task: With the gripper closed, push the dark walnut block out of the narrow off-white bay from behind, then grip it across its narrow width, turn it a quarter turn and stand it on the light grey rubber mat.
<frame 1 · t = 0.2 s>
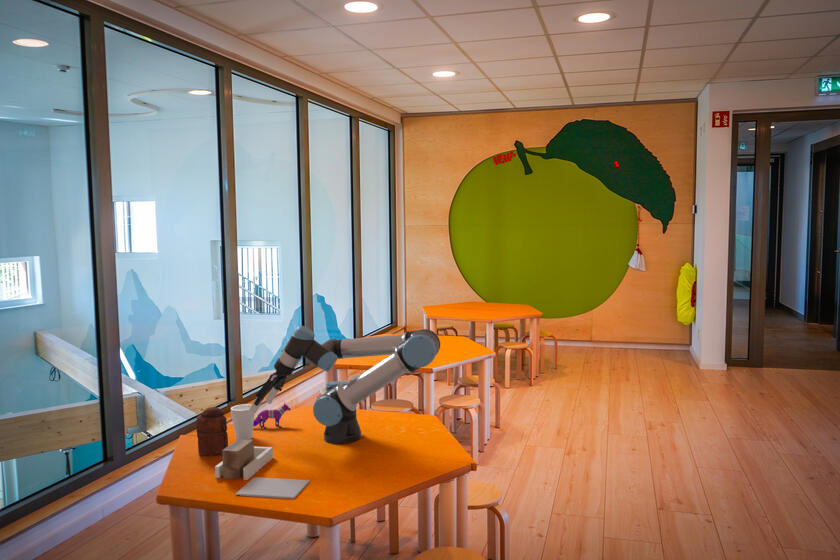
hand: (260, 406, 266), 16 cm above the table, tool tilted 35°, fingers open, 13 cm apart
bay: (244, 468, 244), on the table
foam cup: (244, 439, 278), on the table
mat: (273, 488, 225), on the table
wooden figurine: (213, 453, 261), on the table
walnut block: (239, 472, 240), resting in bay
toy dog: (270, 427, 292), on the table
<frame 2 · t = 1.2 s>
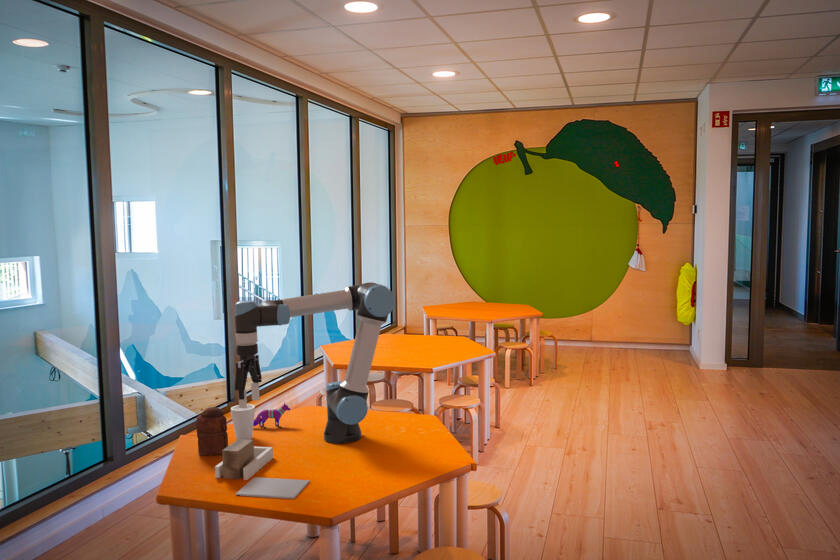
hand: (249, 403, 249), 22 cm above the table, tool pointing down, fingers open, 10 cm apart
nothing on the table moved.
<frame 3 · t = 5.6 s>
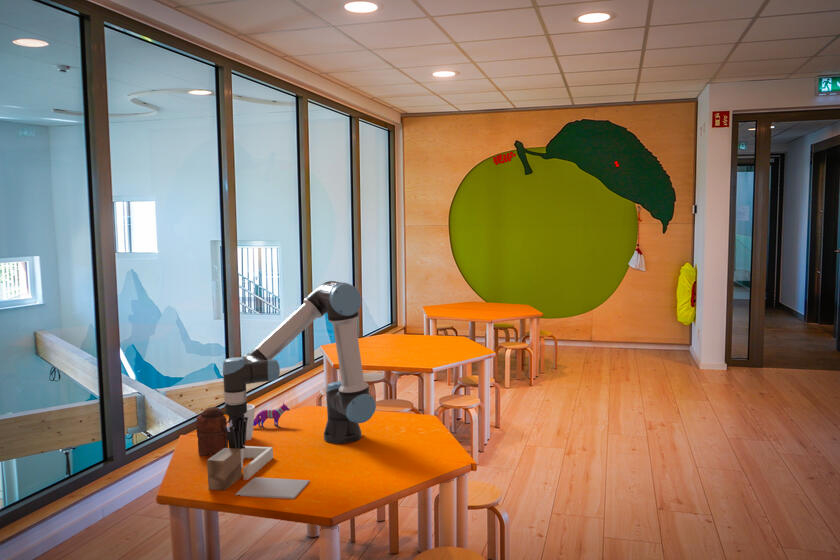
hand: (238, 467, 240), 2 cm above the table, tool pointing down, fingers closed
walnut block: (225, 482, 231), on the table, touching hand
everything else where it was.
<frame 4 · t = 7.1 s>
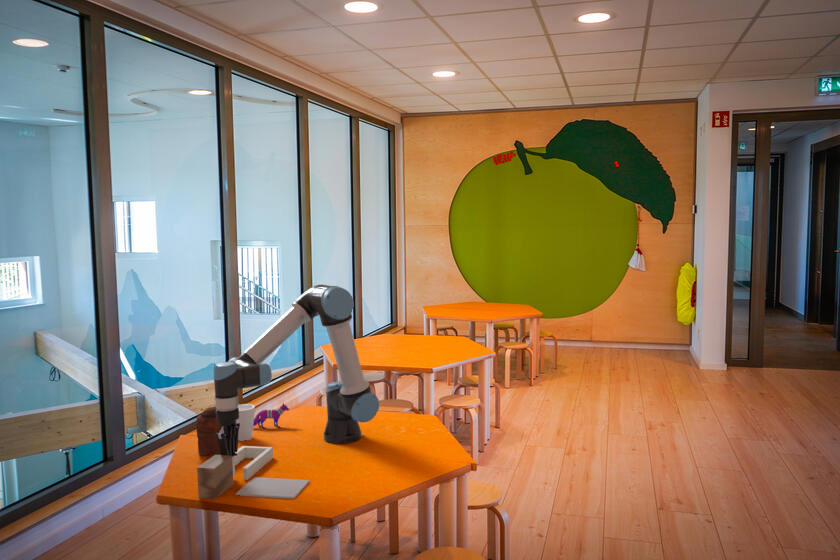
hand: (230, 475, 234), 1 cm above the table, tool pointing down, fingers closed
walnut block: (216, 490, 224), on the table, touching hand
everything else where it was.
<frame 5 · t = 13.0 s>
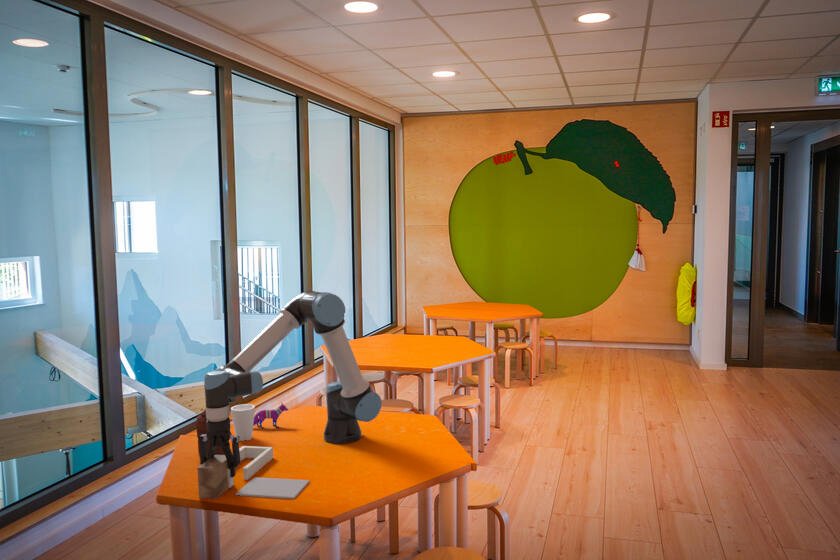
hand: (221, 485, 228), 0 cm above the table, tool pointing down, fingers closed on walnut block, 6 cm apart
walnut block: (216, 490, 224), on the table, touching gripper
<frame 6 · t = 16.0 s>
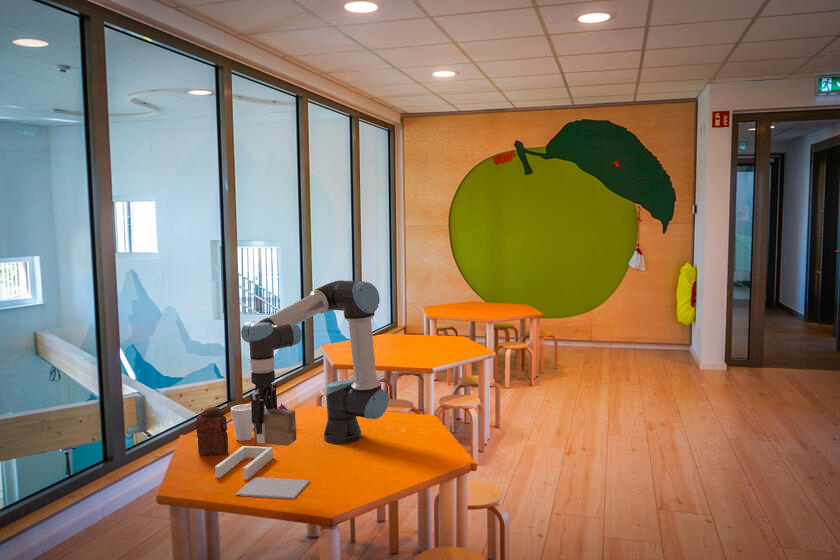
hand: (266, 439, 224), 17 cm above the table, tool pointing down, fingers closed on walnut block, 6 cm apart
walnut block: (275, 441, 223), point 16 cm above the table, touching gripper
when the fingers open (2 cm above the table, at t = 19.3 s): walnut block drops 1 cm, resting on mat.
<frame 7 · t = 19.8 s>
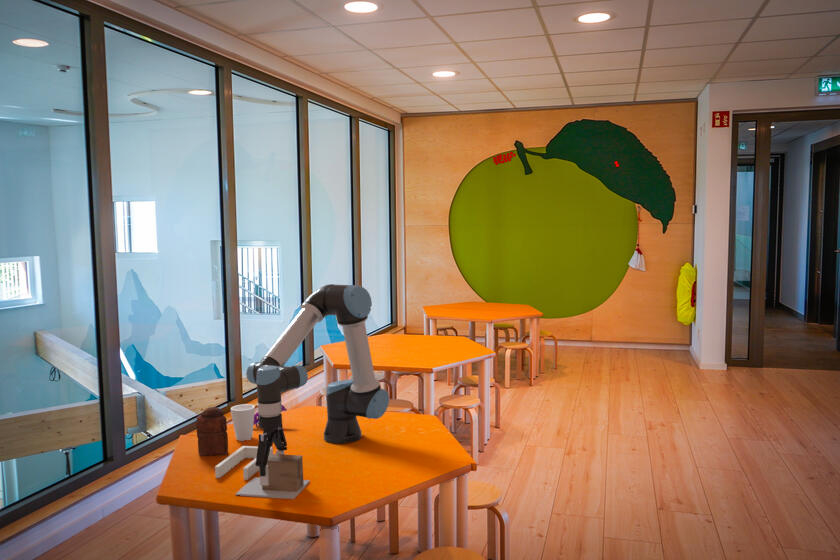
hand: (272, 477, 225), 4 cm above the table, tool pointing down, fingers open, 13 cm apart
walnut block: (283, 487, 224), point 1 cm above the table, touching mat
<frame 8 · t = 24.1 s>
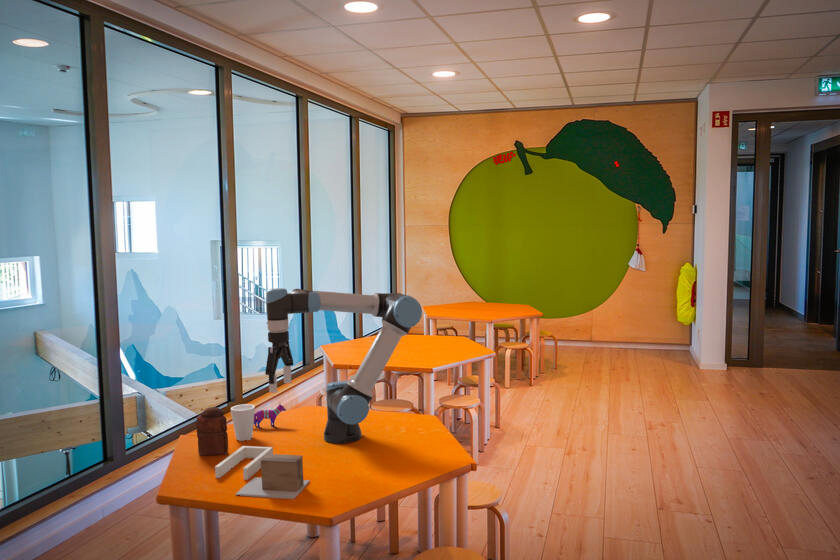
hand: (280, 387, 252), 27 cm above the table, tool pointing down, fingers open, 13 cm apart
at the end: walnut block inside the target area on the mat (3.4 cm from its centre), point 0.6 cm above the mat's base; walnut block tilted 0°; the gripper is holding nothing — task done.
